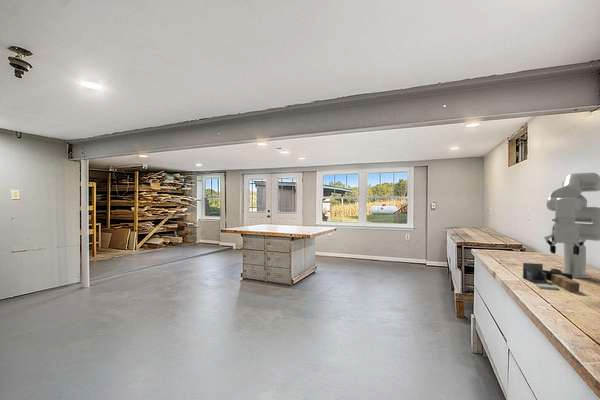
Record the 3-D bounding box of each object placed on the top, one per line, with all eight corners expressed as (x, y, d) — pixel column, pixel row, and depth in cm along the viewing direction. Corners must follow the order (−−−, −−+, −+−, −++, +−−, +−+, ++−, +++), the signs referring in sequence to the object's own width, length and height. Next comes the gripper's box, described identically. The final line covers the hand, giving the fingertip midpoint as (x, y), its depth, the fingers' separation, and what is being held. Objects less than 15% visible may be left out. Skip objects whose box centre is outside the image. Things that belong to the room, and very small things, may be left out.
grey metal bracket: (522, 278, 165) (522, 262, 165) (541, 279, 163) (541, 263, 162) (528, 281, 158) (528, 265, 158) (548, 283, 156) (548, 266, 156)
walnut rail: (551, 282, 157) (551, 273, 157) (560, 283, 156) (560, 274, 156) (569, 292, 142) (569, 282, 141) (579, 293, 140) (579, 283, 140)
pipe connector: (539, 265, 173) (573, 270, 162) (539, 274, 173) (573, 279, 162) (536, 269, 166) (571, 274, 154) (536, 278, 166) (571, 284, 155)
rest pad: (536, 286, 151) (536, 284, 151) (554, 287, 148) (554, 285, 148) (540, 288, 147) (540, 286, 147) (559, 289, 144) (559, 287, 144)
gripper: (548, 221, 147) (548, 254, 147) (590, 222, 142) (590, 256, 142) (541, 220, 154) (540, 251, 154) (580, 221, 149) (580, 253, 149)
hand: (564, 253), depth 148 cm, fingers open, 9 cm apart
